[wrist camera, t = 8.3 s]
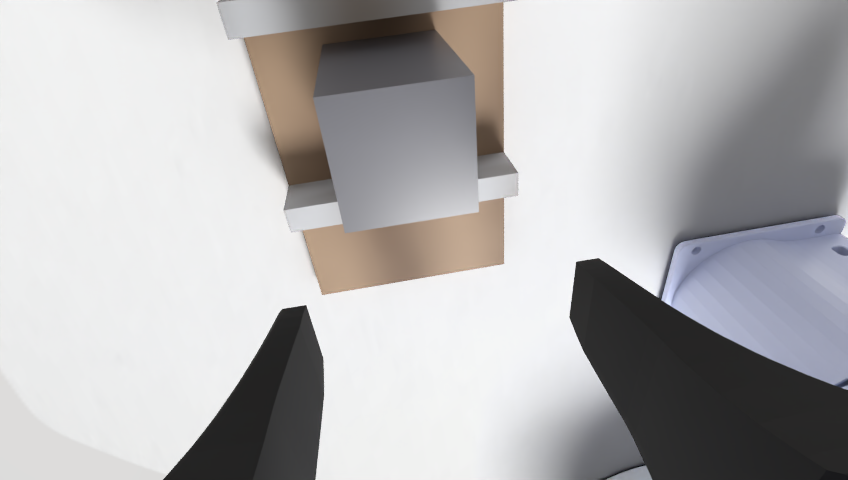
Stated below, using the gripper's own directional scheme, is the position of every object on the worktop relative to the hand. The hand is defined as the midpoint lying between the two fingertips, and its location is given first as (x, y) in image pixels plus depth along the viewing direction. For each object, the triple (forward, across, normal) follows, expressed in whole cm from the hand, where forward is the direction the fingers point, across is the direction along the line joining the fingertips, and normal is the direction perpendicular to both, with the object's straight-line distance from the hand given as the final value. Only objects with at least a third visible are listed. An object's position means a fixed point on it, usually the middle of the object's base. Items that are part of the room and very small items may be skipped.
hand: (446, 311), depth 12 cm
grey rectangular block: (+8, 0, -3) cm, 9 cm away
